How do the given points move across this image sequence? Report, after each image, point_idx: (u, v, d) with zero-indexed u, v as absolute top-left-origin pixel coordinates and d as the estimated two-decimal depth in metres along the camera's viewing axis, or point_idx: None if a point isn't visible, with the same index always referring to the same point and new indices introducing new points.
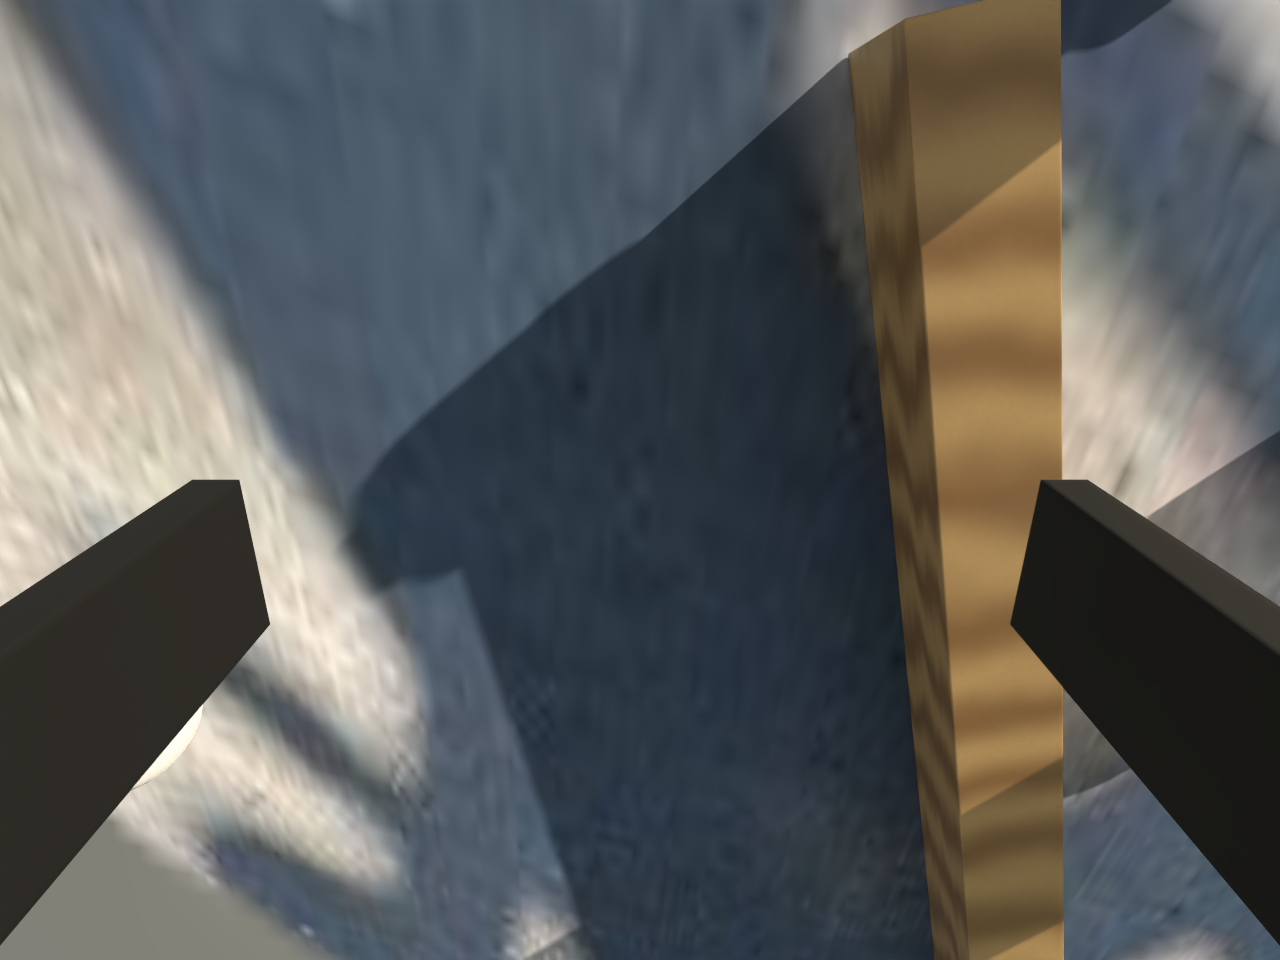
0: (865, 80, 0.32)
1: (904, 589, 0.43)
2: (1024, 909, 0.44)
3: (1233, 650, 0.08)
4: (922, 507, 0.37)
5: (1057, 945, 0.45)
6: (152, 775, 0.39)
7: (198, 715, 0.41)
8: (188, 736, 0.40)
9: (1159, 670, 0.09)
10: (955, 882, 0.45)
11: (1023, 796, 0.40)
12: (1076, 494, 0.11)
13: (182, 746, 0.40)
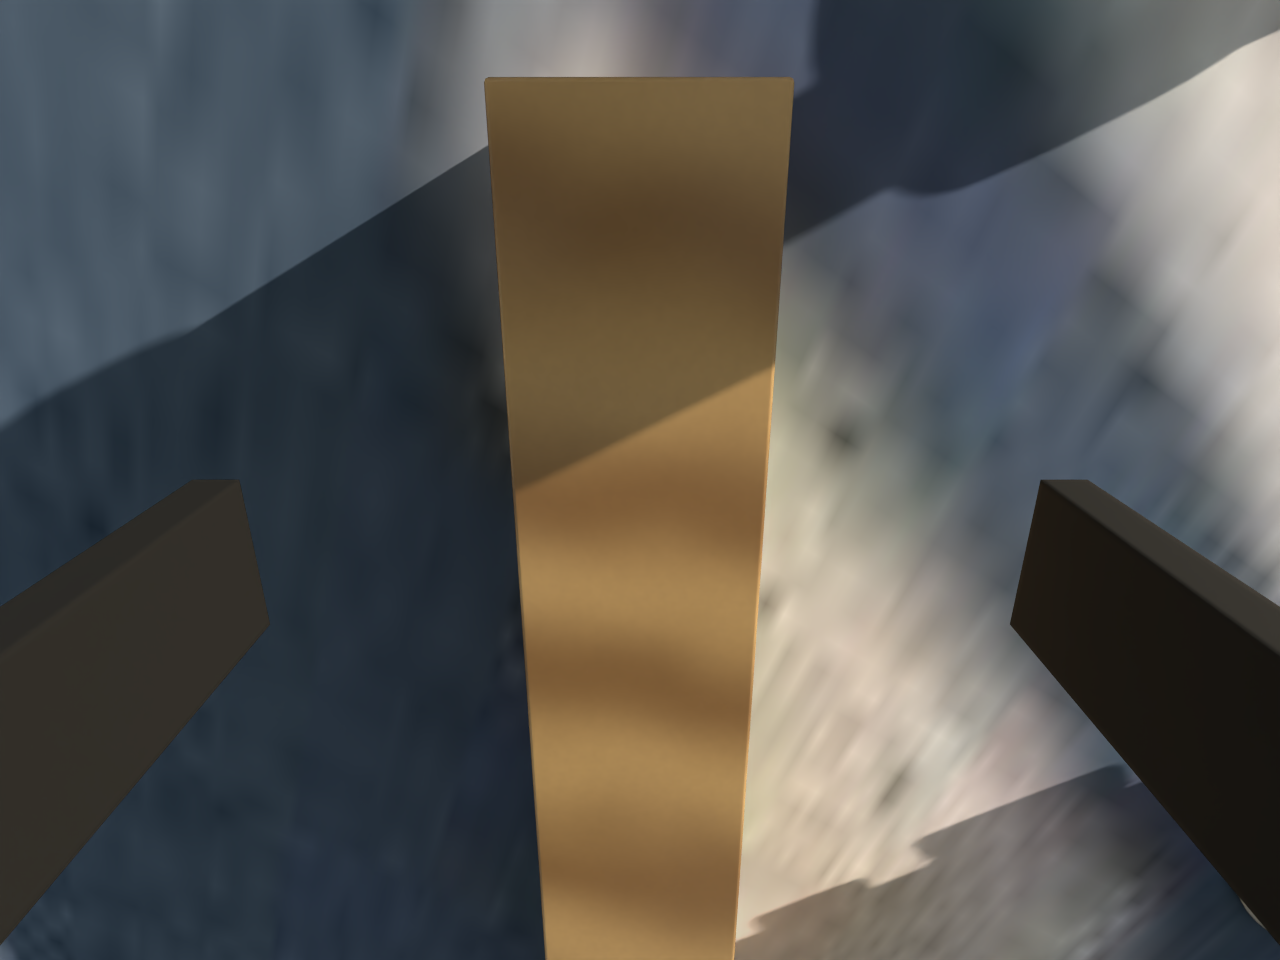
0: None
1: None
2: None
3: (1233, 650, 0.08)
4: None
5: None
6: None
7: None
8: None
9: (1159, 670, 0.09)
10: None
11: None
12: (1076, 494, 0.11)
13: None
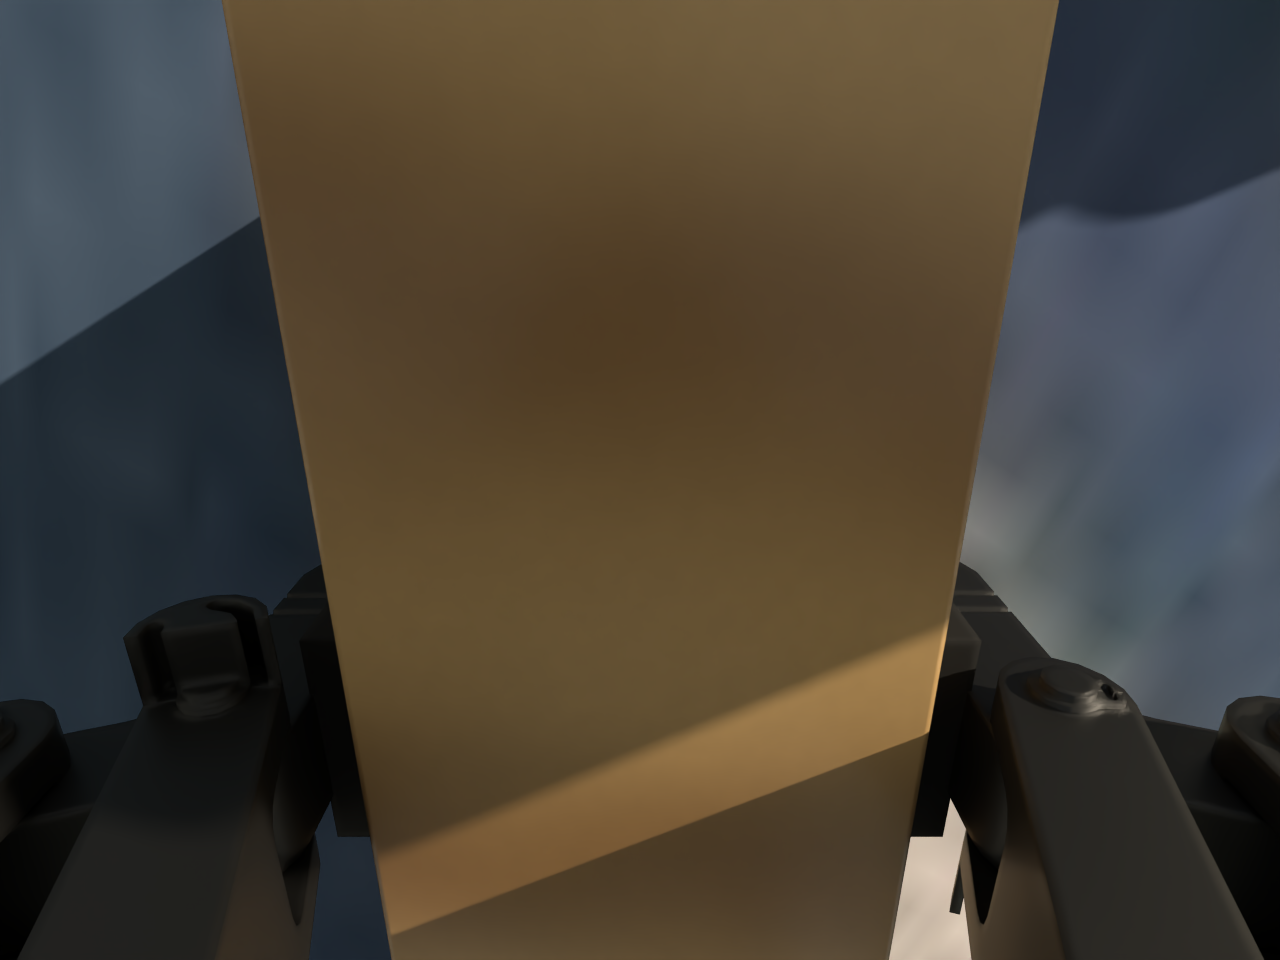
0: None
1: None
2: None
3: None
4: None
5: None
6: None
7: None
8: None
9: None
10: None
11: None
12: None
13: None
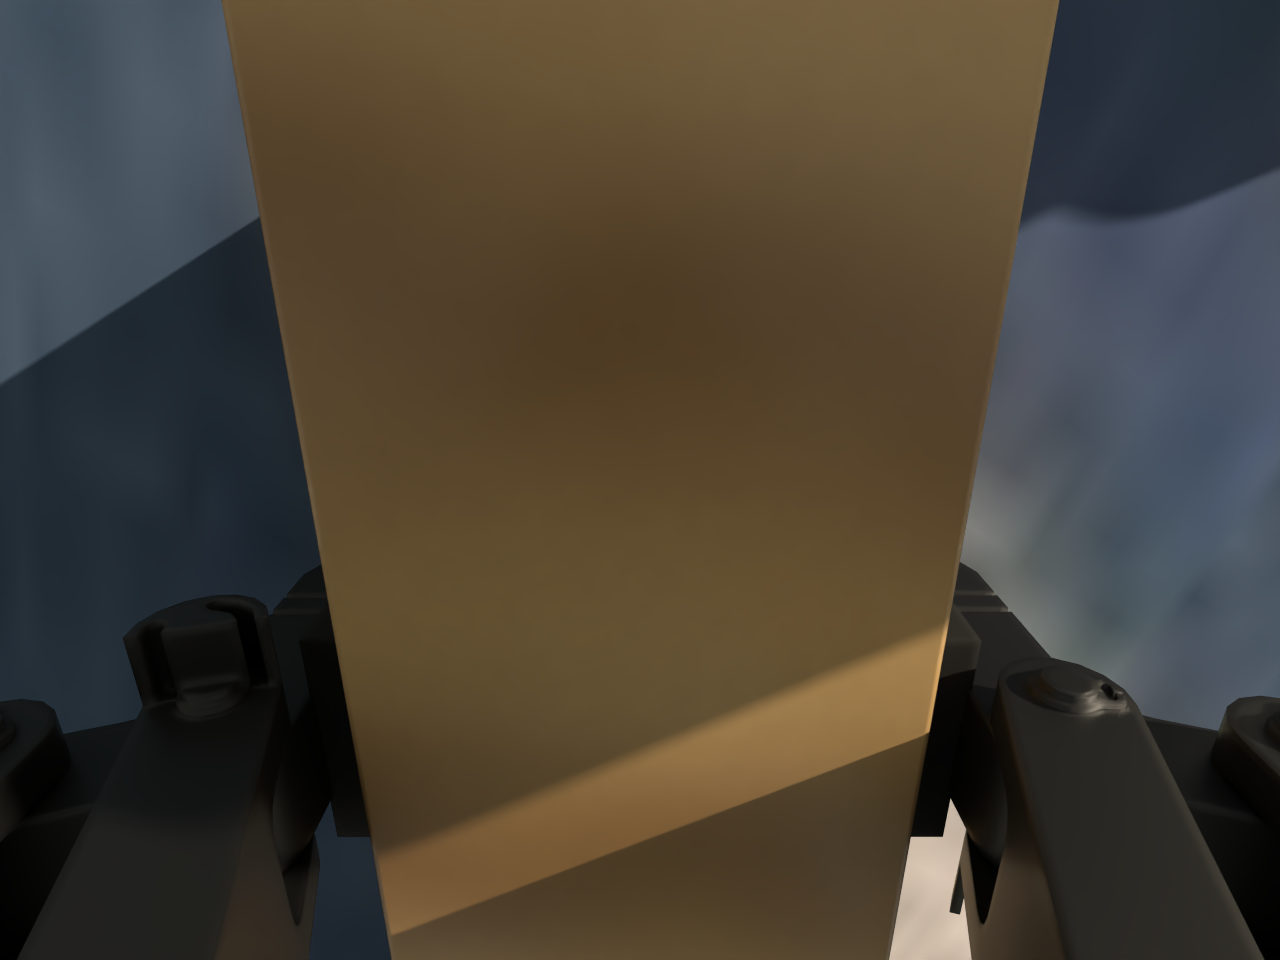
0: None
1: None
2: None
3: None
4: None
5: None
6: None
7: None
8: None
9: None
10: None
11: None
12: None
13: None
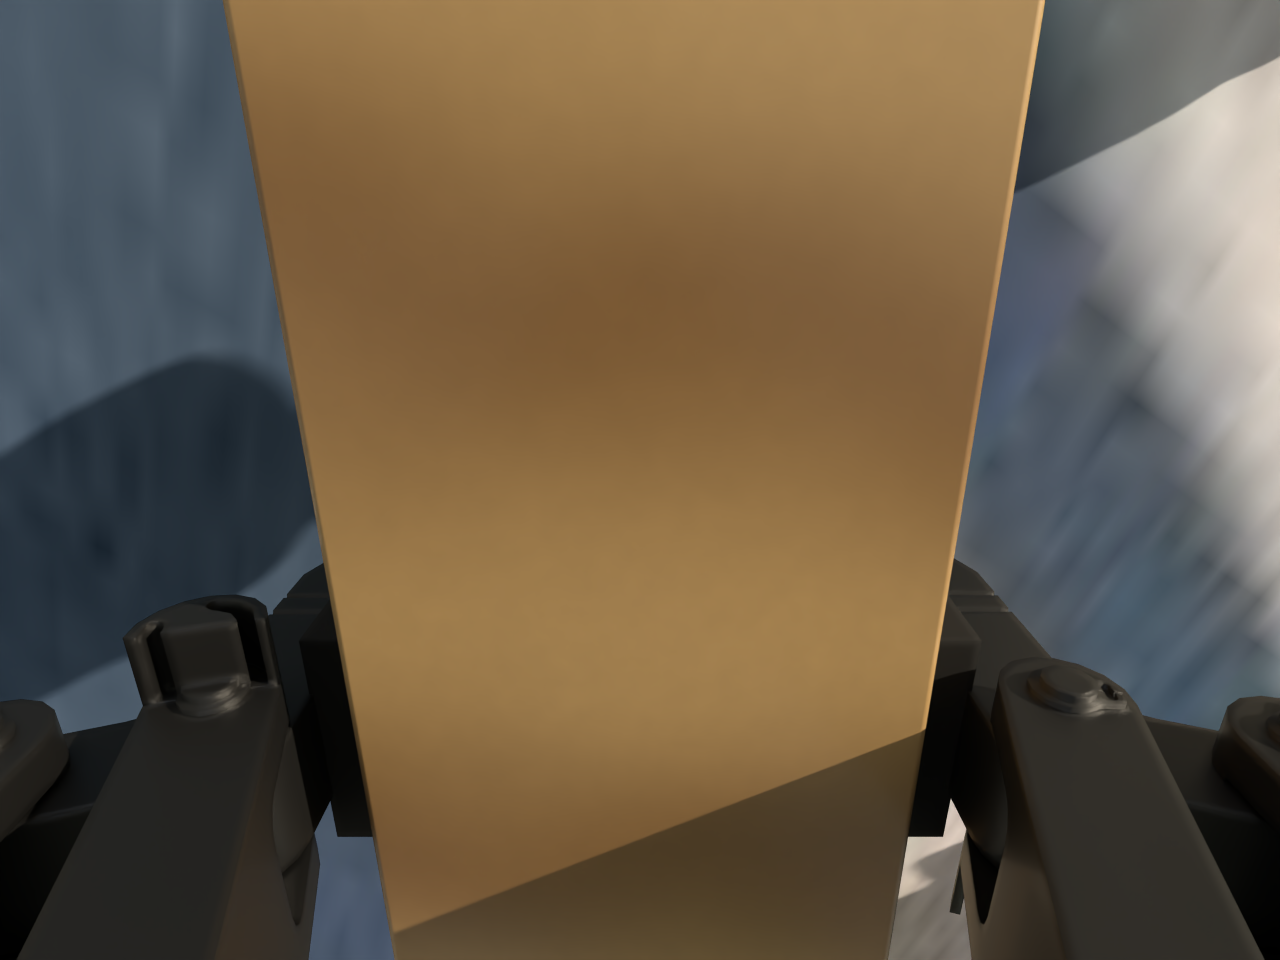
0: None
1: None
2: None
3: None
4: None
5: None
6: None
7: None
8: None
9: None
10: None
11: None
12: None
13: None
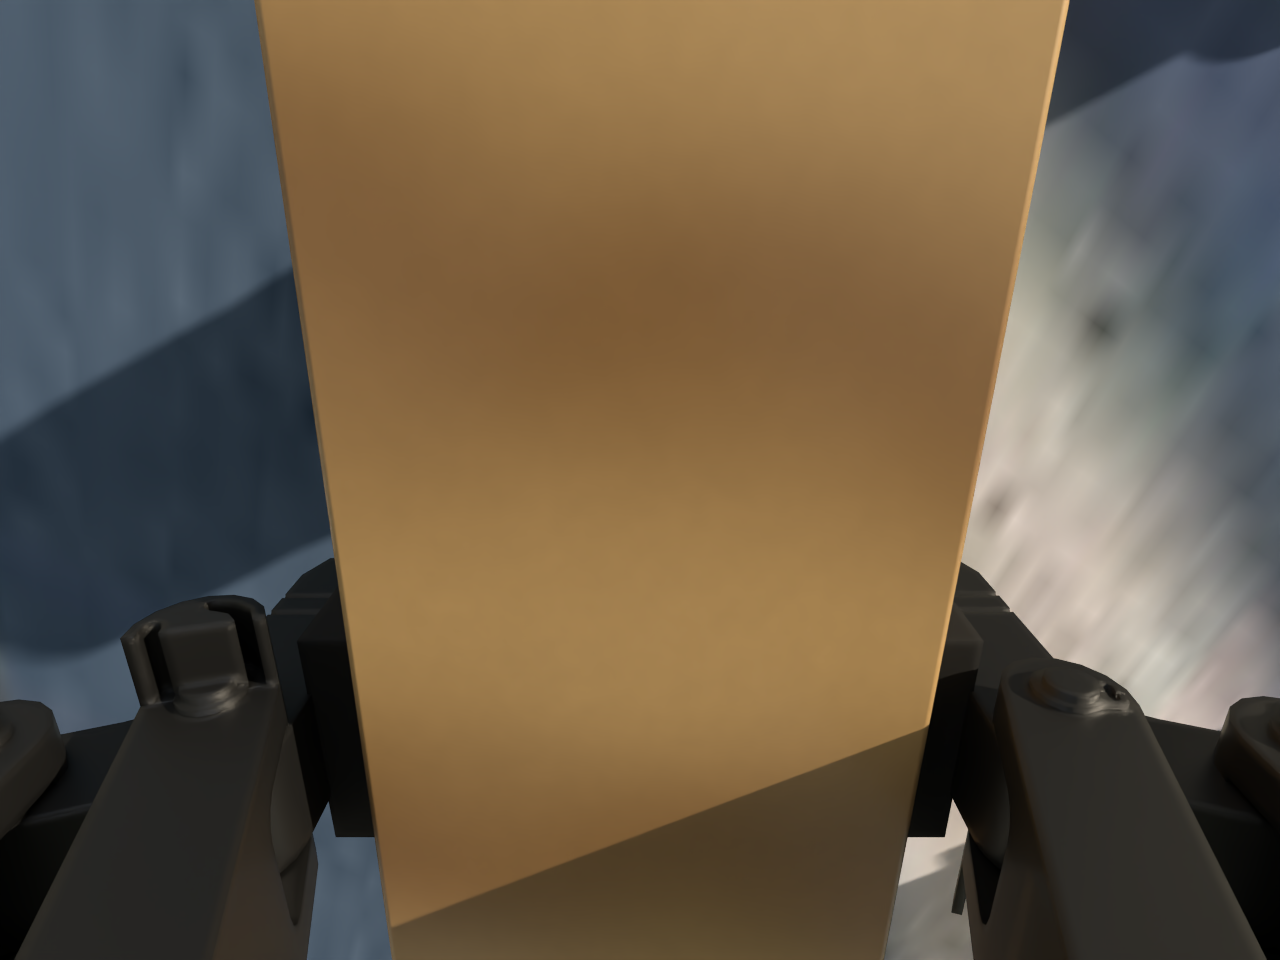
0: None
1: None
2: None
3: None
4: None
5: None
6: None
7: None
8: None
9: None
10: None
11: None
12: None
13: None
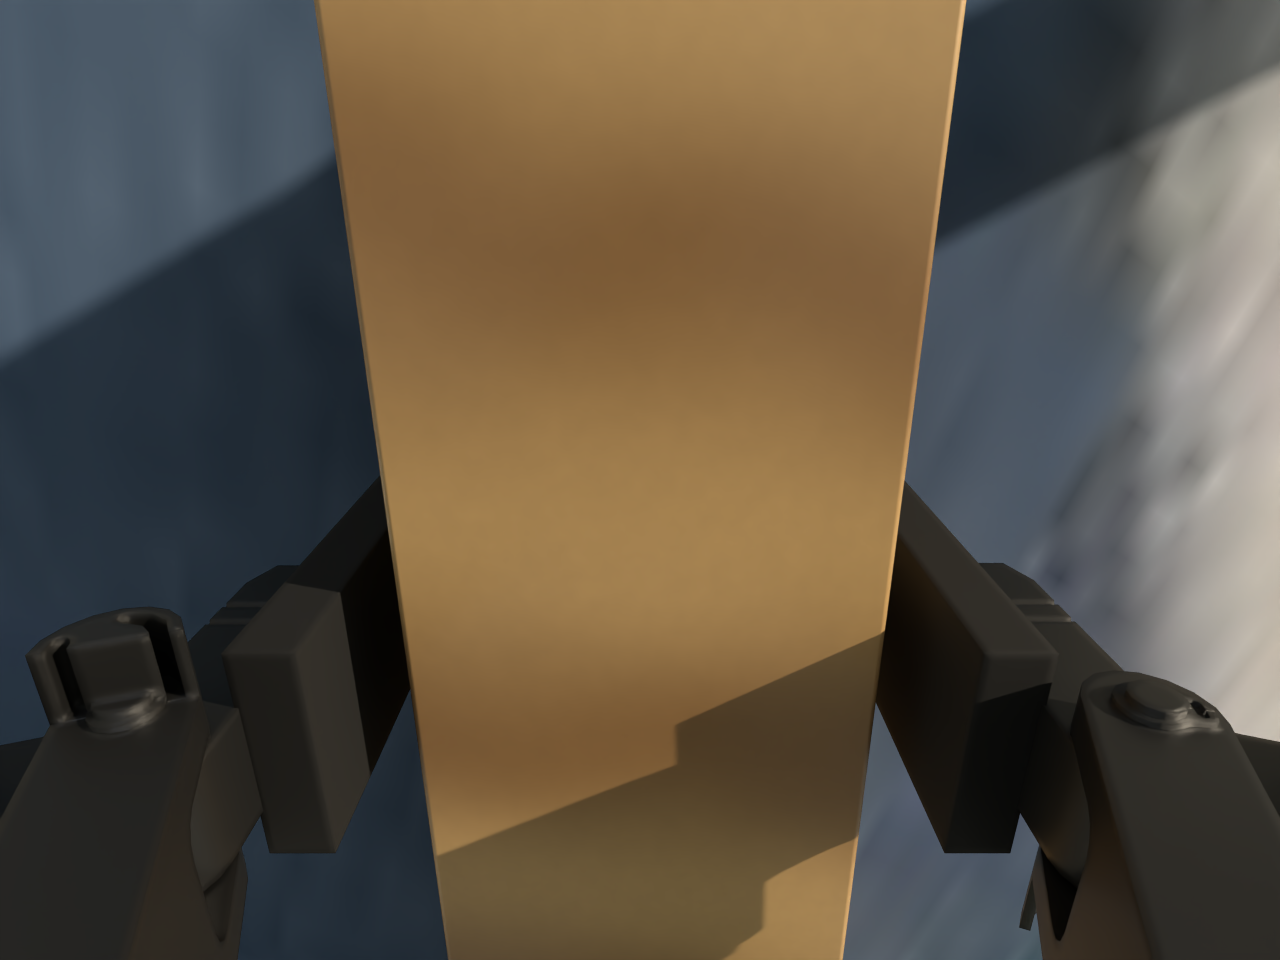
0: None
1: None
2: None
3: (908, 573, 0.10)
4: None
5: None
6: None
7: None
8: None
9: None
10: None
11: None
12: None
13: None
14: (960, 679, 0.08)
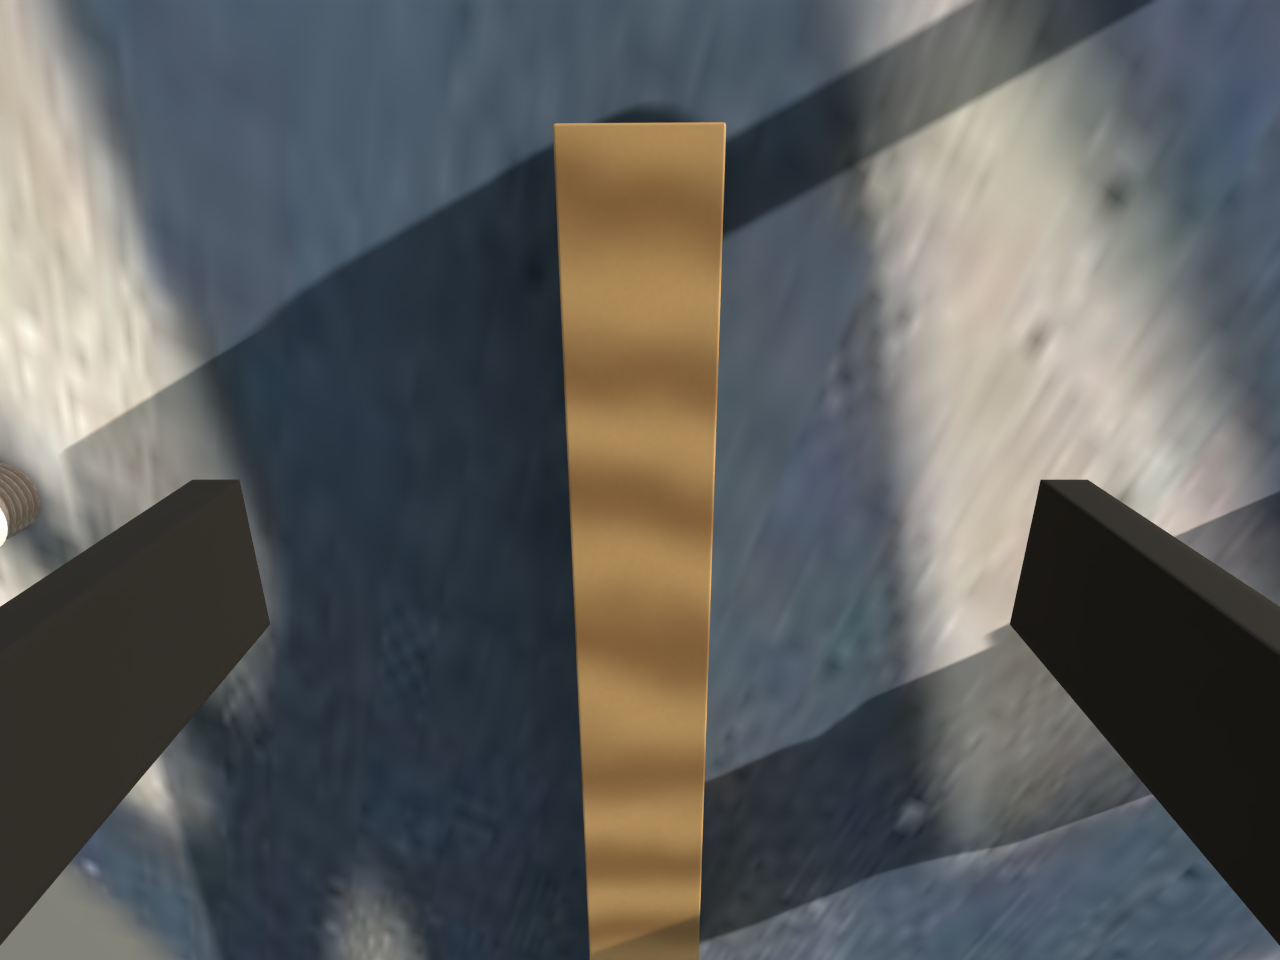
0: None
1: None
2: None
3: (1233, 650, 0.08)
4: None
5: None
6: None
7: None
8: None
9: (1159, 670, 0.09)
10: None
11: (657, 947, 0.38)
12: (1076, 494, 0.11)
13: None
14: None
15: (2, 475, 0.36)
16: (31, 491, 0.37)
